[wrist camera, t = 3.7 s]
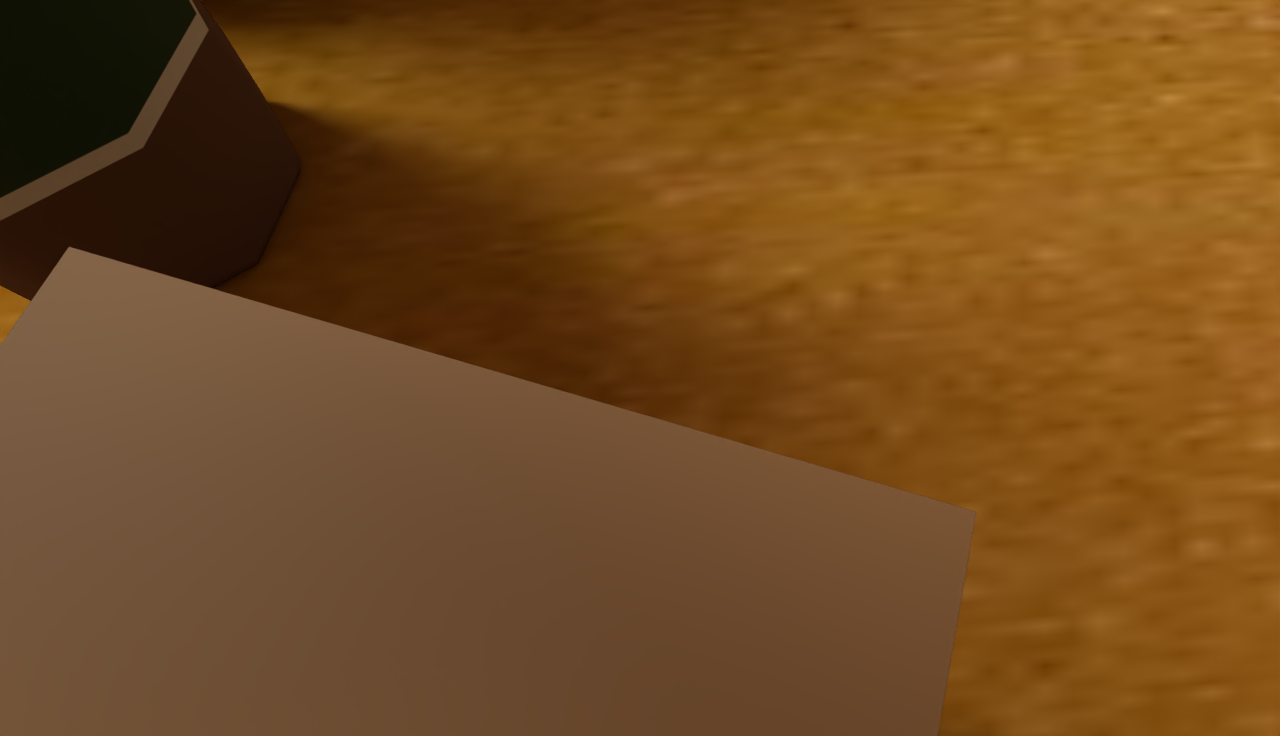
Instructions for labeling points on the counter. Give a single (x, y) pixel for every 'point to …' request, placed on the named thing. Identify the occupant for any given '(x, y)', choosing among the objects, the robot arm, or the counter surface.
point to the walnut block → (422, 545)
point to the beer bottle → (133, 142)
